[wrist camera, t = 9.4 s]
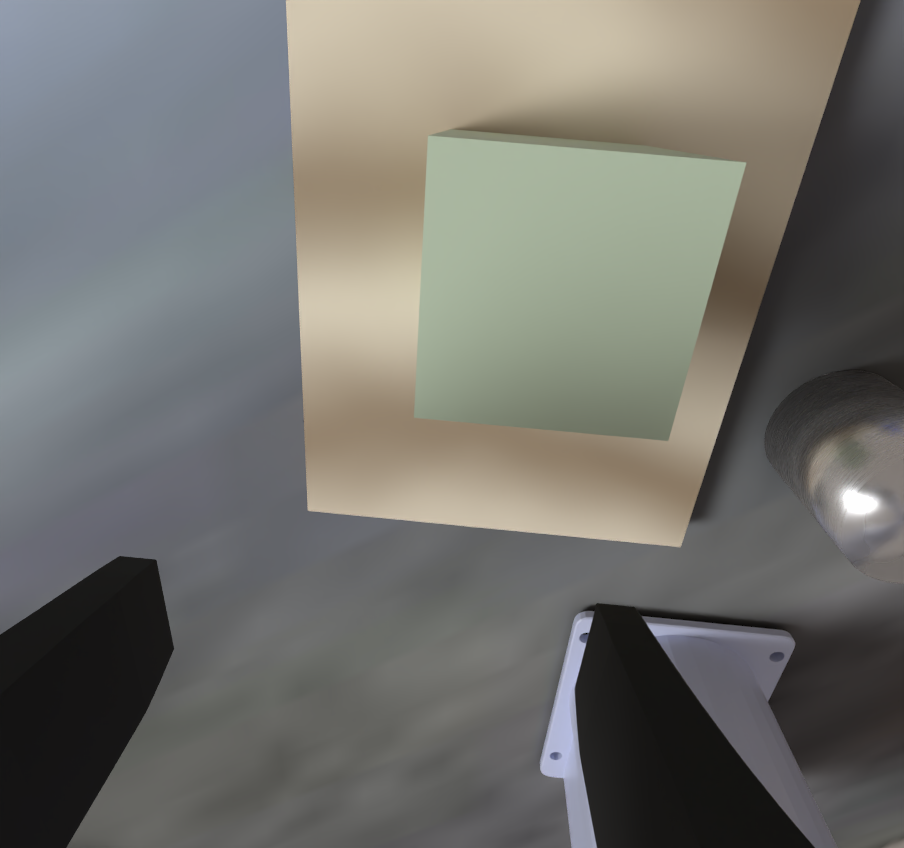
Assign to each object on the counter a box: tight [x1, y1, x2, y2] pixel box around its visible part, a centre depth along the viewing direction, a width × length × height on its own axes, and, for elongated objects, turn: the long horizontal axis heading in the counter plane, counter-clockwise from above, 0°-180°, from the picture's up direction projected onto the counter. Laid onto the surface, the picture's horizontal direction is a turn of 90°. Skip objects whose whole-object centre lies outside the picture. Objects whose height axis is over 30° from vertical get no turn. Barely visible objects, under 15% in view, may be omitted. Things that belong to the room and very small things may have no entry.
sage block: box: [414, 129, 746, 441], centre depth 12 cm, size 4×4×6 cm
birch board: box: [286, 0, 861, 547], centre depth 15 cm, size 18×12×1 cm, turn 176°
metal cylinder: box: [765, 370, 904, 583], centre depth 16 cm, size 4×4×4 cm
